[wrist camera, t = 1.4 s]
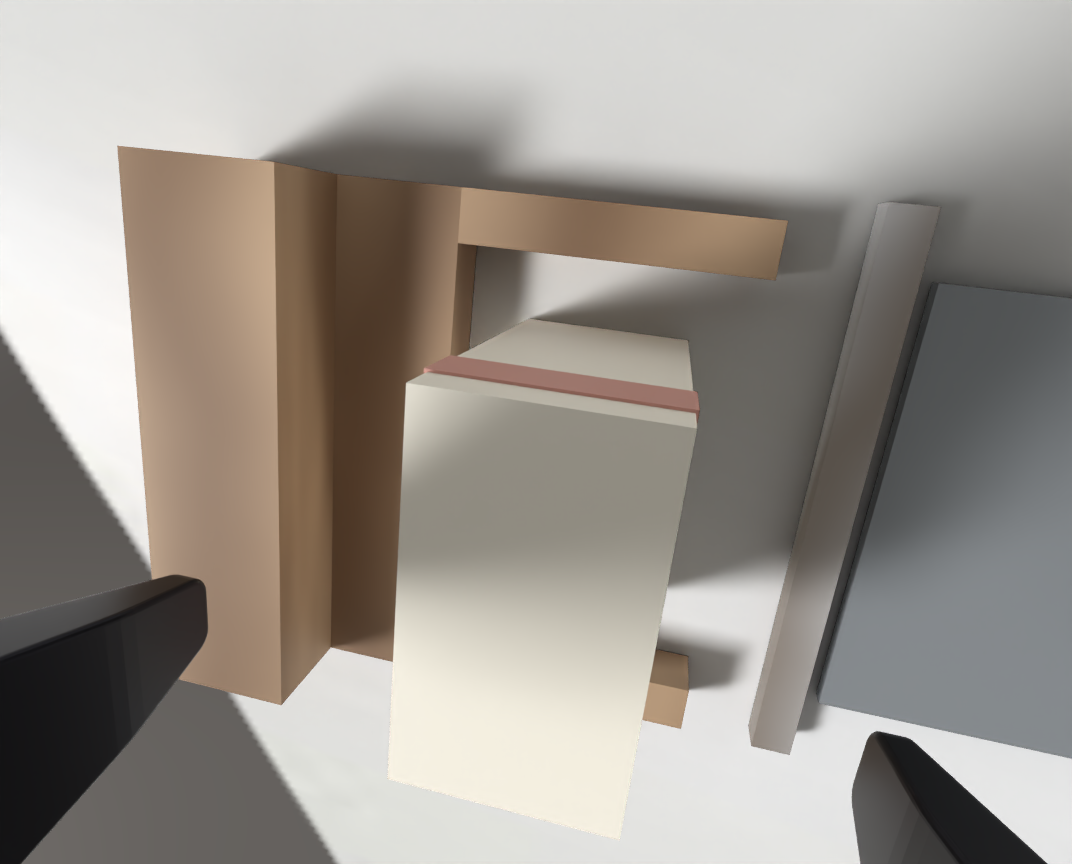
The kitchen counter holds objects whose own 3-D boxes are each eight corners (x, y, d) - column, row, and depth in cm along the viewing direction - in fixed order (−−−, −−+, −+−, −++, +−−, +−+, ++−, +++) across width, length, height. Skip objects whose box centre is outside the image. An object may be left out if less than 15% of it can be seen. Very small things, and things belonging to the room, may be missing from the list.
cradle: (927, 208, 14) (1017, 196, 10) (784, 733, 18) (812, 860, 15) (240, 141, 17) (114, 113, 13) (253, 612, 21) (161, 693, 17)
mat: (1358, 330, 13) (1378, 333, 13) (1147, 765, 16) (1159, 777, 16) (931, 282, 14) (939, 283, 14) (816, 693, 18) (818, 703, 17)
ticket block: (690, 338, 16) (701, 425, 8) (645, 592, 18) (622, 843, 11) (526, 316, 17) (403, 378, 9) (502, 564, 19) (384, 780, 11)
